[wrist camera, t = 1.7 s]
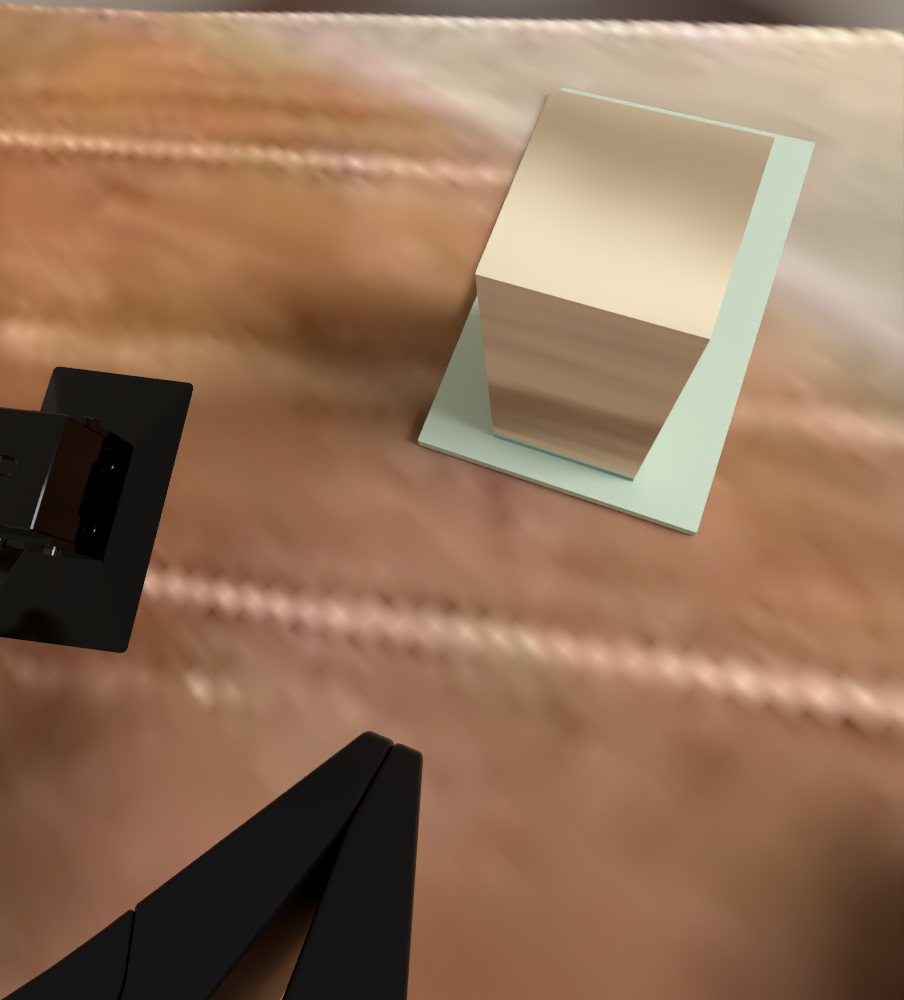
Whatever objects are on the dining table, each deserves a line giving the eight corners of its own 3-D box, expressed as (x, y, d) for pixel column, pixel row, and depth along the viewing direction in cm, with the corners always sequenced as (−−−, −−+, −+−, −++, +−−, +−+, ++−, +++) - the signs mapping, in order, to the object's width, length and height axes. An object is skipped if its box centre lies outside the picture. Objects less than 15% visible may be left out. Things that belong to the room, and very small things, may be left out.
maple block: (632, 481, 23) (710, 339, 14) (493, 436, 24) (475, 274, 14) (675, 353, 24) (775, 137, 15) (540, 315, 25) (551, 88, 16)
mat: (693, 535, 23) (696, 532, 23) (419, 444, 25) (417, 440, 24) (810, 152, 26) (815, 142, 26) (561, 97, 28) (561, 87, 28)
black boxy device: (57, 339, 28) (-34, 271, 24) (234, 357, 27) (175, 290, 23) (-47, 664, 25) (-176, 660, 20) (149, 698, 24) (60, 701, 19)
